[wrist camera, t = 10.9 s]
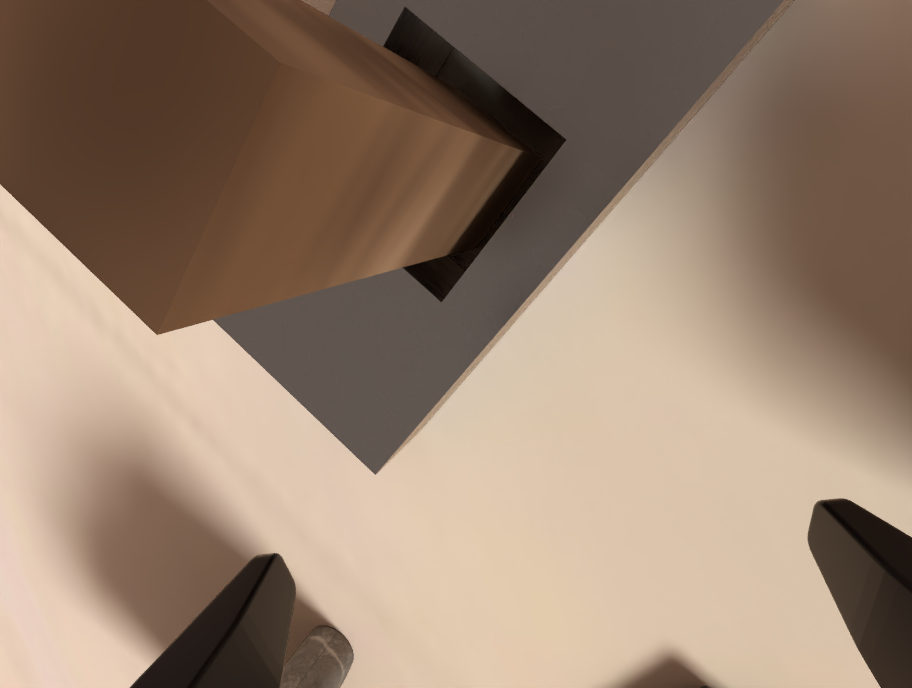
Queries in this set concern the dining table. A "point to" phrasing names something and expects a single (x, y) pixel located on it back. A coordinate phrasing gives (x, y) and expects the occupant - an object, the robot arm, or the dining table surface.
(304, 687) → the flask
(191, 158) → the walnut peg
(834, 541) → the robot arm
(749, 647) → the dining table surface
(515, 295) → the rail block
